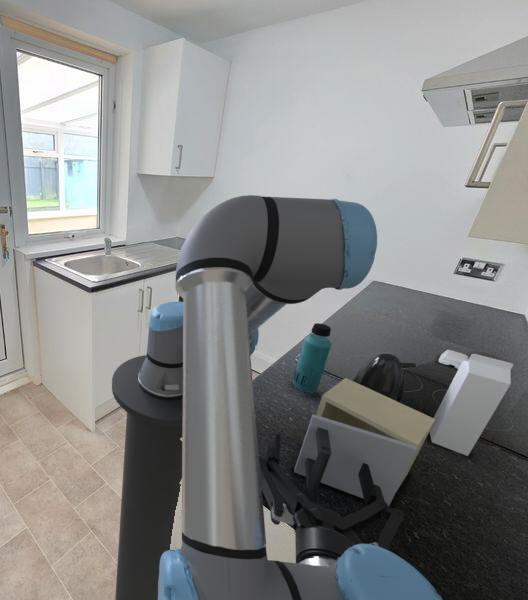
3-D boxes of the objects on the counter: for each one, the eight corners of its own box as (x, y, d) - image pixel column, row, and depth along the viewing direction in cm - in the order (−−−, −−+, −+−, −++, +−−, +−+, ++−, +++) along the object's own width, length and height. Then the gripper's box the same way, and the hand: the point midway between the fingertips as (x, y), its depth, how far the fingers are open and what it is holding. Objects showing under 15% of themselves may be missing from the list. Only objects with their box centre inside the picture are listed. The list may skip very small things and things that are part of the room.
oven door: (398, 542, 50) (433, 481, 45) (294, 499, 56) (315, 441, 51) (386, 503, 56) (415, 445, 51) (294, 468, 62) (312, 413, 57)
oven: (388, 504, 56) (418, 445, 51) (304, 447, 67) (322, 394, 62) (407, 474, 62) (435, 419, 57) (327, 427, 73) (345, 377, 68)
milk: (467, 456, 67) (520, 371, 59) (430, 442, 71) (475, 359, 62) (462, 439, 72) (510, 358, 64) (427, 427, 75) (469, 347, 67)
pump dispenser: (399, 423, 76) (424, 370, 70) (349, 407, 80) (368, 356, 75) (391, 400, 84) (412, 351, 79) (346, 387, 89) (363, 340, 83)
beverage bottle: (319, 390, 87) (340, 326, 79) (312, 401, 82) (334, 334, 75) (294, 380, 91) (312, 317, 84) (286, 389, 86) (305, 324, 79)
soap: (441, 354, 110) (444, 346, 109) (468, 362, 105) (472, 355, 104) (437, 362, 105) (440, 354, 104) (465, 371, 100) (469, 363, 99)
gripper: (222, 545, 44) (242, 442, 62) (450, 662, 34) (396, 499, 52) (231, 509, 42) (249, 412, 59) (482, 624, 32) (413, 467, 50)
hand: (317, 453), depth 56 cm, fingers open, 13 cm apart
